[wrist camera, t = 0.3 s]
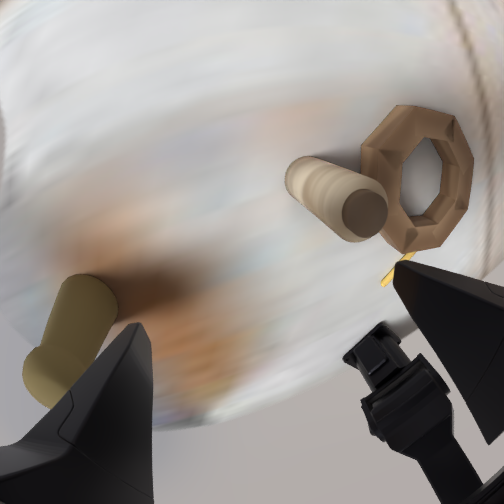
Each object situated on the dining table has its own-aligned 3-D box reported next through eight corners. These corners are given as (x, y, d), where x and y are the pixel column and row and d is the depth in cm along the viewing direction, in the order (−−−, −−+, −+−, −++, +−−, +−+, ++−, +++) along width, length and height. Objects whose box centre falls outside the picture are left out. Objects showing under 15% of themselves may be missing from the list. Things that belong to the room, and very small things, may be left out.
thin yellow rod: (427, 232, 26) (431, 235, 25) (381, 285, 27) (384, 289, 27) (425, 228, 25) (429, 231, 25) (378, 282, 27) (381, 285, 26)
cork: (100, 338, 24) (75, 432, 14) (51, 303, 21) (5, 390, 11) (130, 302, 23) (106, 407, 13) (76, 261, 20) (19, 353, 10)
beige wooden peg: (336, 177, 21) (406, 212, 13) (307, 210, 22) (364, 260, 14) (306, 146, 20) (372, 165, 12) (275, 181, 21) (324, 220, 13)
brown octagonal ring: (467, 178, 24) (483, 185, 22) (402, 263, 27) (416, 274, 24) (416, 82, 18) (435, 81, 16) (331, 177, 21) (347, 185, 19)
